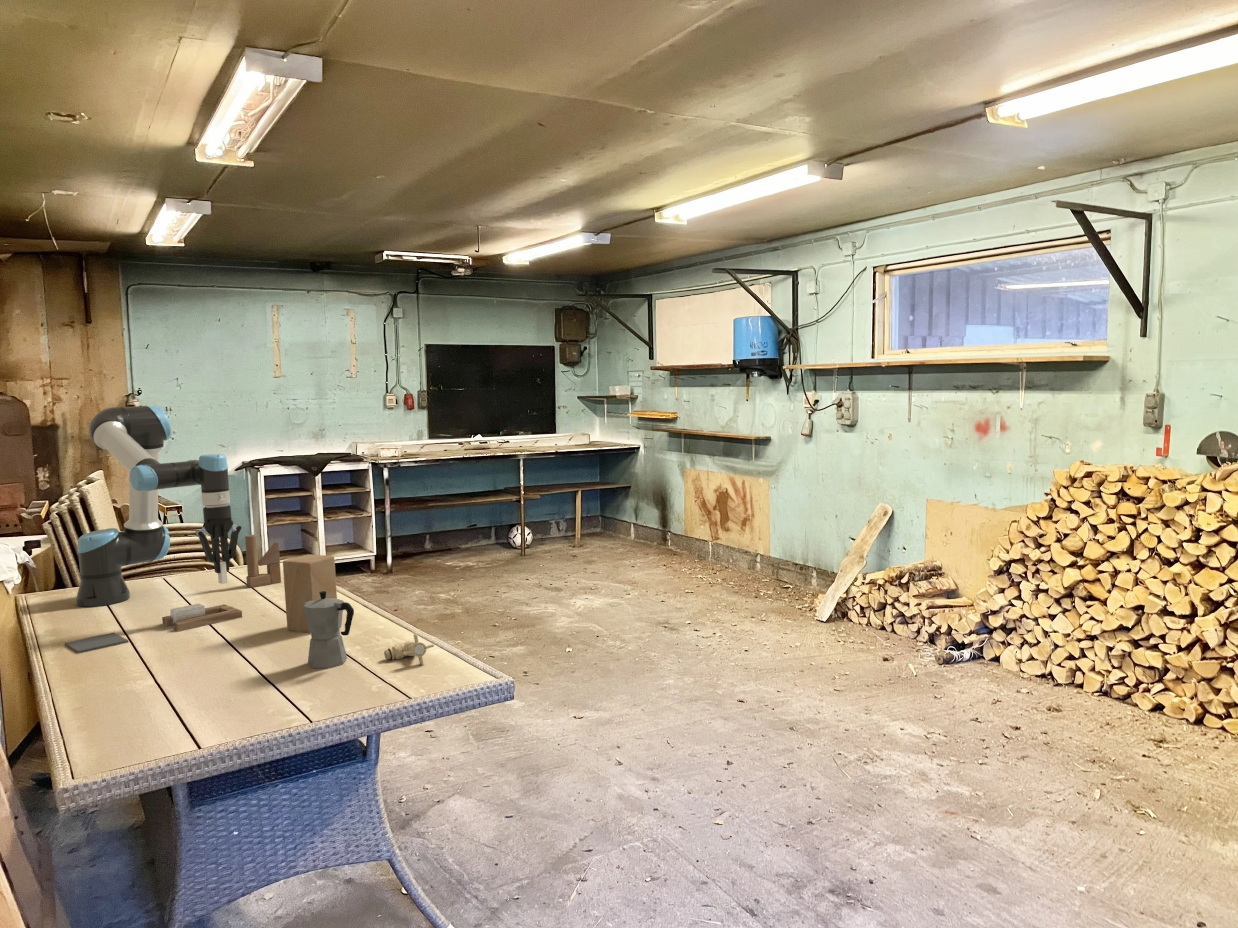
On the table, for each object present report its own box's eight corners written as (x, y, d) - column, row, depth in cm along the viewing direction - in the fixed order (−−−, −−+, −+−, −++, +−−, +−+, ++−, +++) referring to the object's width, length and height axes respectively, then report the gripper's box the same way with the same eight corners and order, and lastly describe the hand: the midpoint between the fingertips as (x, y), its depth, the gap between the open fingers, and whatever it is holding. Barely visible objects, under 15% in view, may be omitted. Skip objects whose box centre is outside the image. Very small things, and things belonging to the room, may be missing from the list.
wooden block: (339, 624, 242) (335, 555, 241) (313, 633, 233) (308, 562, 232) (313, 620, 247) (308, 553, 245) (286, 630, 238) (281, 560, 236)
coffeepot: (292, 666, 206) (287, 594, 204) (319, 654, 215) (315, 585, 213) (343, 672, 200) (338, 598, 199) (369, 659, 209) (364, 588, 207)
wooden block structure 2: (281, 582, 299) (278, 532, 297) (250, 588, 291) (246, 536, 290) (277, 580, 301) (274, 531, 300) (246, 586, 294) (242, 535, 292)
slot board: (162, 623, 249) (162, 617, 248) (224, 610, 262) (224, 604, 262) (178, 631, 240) (178, 624, 240) (242, 617, 253) (241, 610, 253)
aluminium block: (171, 625, 247) (170, 609, 246) (200, 619, 252) (198, 603, 252) (177, 628, 244) (175, 611, 243) (205, 622, 249) (204, 605, 249)
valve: (438, 660, 205) (397, 672, 200) (423, 658, 216) (385, 669, 211) (431, 629, 206) (391, 641, 201) (417, 629, 216) (378, 639, 211)
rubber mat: (65, 644, 230) (64, 642, 230) (113, 634, 239) (113, 632, 239) (78, 653, 222) (78, 651, 222) (128, 642, 231) (128, 640, 231)
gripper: (199, 509, 245) (205, 588, 247) (243, 503, 255) (250, 580, 257) (188, 507, 250) (195, 585, 252) (233, 502, 260) (239, 577, 262)
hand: (223, 582), depth 255 cm, fingers closed
